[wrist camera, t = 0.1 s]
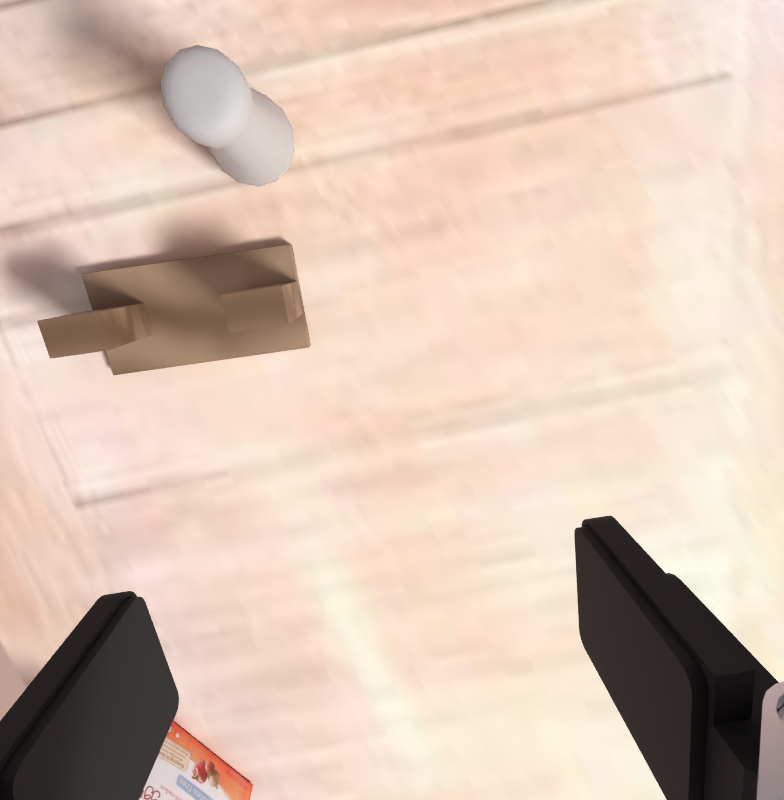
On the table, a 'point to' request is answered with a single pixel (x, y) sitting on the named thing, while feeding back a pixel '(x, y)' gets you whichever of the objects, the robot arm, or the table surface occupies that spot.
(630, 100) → the table surface
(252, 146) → the salt shaker
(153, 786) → the cracker box
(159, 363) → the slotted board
